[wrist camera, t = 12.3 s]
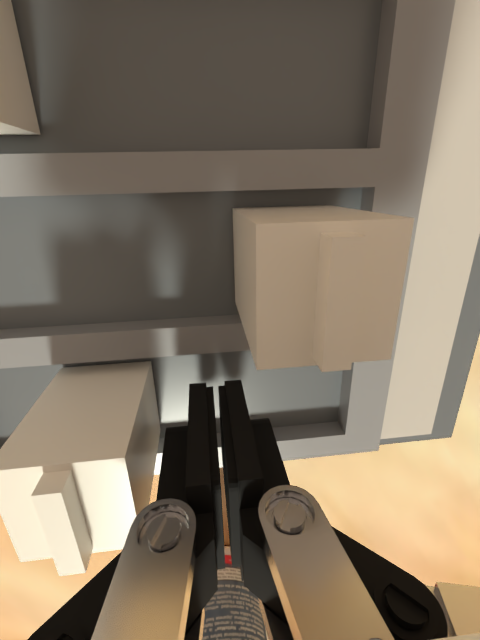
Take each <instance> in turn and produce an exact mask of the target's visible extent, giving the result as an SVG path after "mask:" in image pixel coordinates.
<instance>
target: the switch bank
mask: <svg viewBox="0 0 480 640" xmlns="http://www.w3.org/2000/svg"><path fill="white" fill-rule="evenodd" d="M11 2H12V6H13V11H14V16H15V20H16V25H17V29H18V34H19V38H20V43H21V48H22V52H23V57H24V61H25V66H26V71H27V75H28V80H29V84H30V89H31V93H32V98H33V103H34V107H35V112H36V116H37V121H38V125H39V130H40V135H0V449H1V447H2V446H3V445H4V443H5V442H6V441H7V439H8V438H9V437H10V435H11V434H12V433H13V431H14V430H15V429H16V427H17V426H18V425H19V423H20V422H21V421H22V420H23V418H24V417H25V416H26V414H27V413H28V412H29V410H30V409H31V408H32V406H33V405H34V404H35V402H36V401H37V400H38V398H39V397H40V396H41V394H42V393H43V392H44V390H45V389H46V388H47V386H48V385H49V384H50V382H51V381H52V380H53V378H54V377H55V376H56V374H57V373H58V372H59V370H60V369H61V368H65V367H78V366H91V365H105V364H118V363H132V362H145V361H151V365H152V372H153V379H154V386H155V393H156V401H157V408H158V415H159V422H160V429H161V430H160V437H159V443H158V450H157V456H156V462H155V469H154V475H155V474H160V469H161V462H162V454H163V446H164V438H165V431H166V428H168V427H178V426H188V406H189V384H194V383H206V387H212V386H213V393H214V405H215V418H216V431H217V444H218V456H219V468H220V467H223V463H222V448H221V429H220V411H219V392H218V386H224V381H230V380H241V382H242V386H243V390H244V395H245V399H246V404H247V408H248V413H249V417H250V420H252V419H263V418H269V420H270V422H271V425H272V429H273V432H274V435H275V438H276V442H277V445H278V448H279V451H280V454H281V458H282V461H286V460H295V459H304V458H314V457H323V456H332V455H342V454H351V453H360V452H370V451H378V450H379V445H382V444H392V443H401V442H411V441H420V440H430V439H439V438H449V437H451V436H452V433H453V429H454V425H455V422H456V418H457V414H458V411H459V407H460V403H461V400H462V396H463V392H464V389H465V385H466V381H467V378H468V374H469V370H470V367H471V363H472V359H473V356H474V352H475V348H476V344H477V341H478V337H479V333H480V0H11ZM315 205H331V206H338V207H344V208H351V209H357V210H364V211H370V212H377V213H384V214H390V215H397V216H403V217H410V218H414V224H413V230H412V236H411V242H410V248H409V254H408V260H407V266H406V272H405V278H404V284H403V290H402V296H401V302H400V308H399V314H398V320H397V326H396V332H395V338H394V344H393V350H392V356H391V360H378V361H366V362H353V363H352V366H351V370H341V371H329V372H321V370H320V369H319V367H318V366H317V365H315V366H303V367H290V368H278V369H265V370H256V366H255V363H254V360H253V357H252V354H251V350H250V347H249V344H248V341H247V338H246V334H245V331H244V328H243V325H242V322H241V319H240V315H239V312H238V309H237V306H236V303H235V276H234V243H233V209H232V208H252V207H284V206H315Z"/></svg>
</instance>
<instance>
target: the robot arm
mask: <svg viewBox="0 0 480 640" xmlns="http://www.w3.org/2000/svg"><path fill="white" fill-rule="evenodd" d="M218 392H219V411H220V429H221V448H222V463H223V474H224V485H225V495H226V506H227V517H228V528H229V539H230V550H231V561H232V568H233V567H240V571H241V580H242V581H244V586H245V587H246V588H247V589H248V590H250V591H251V592H252V593H253V594H254V595H255V596H257V597H258V600H259V607H260V611H261V614H262V618H263V621H264V625H265V628H266V632H267V636H268V639H269V640H480V587H476V586H468V585H459V584H451V583H442V582H436V584H435V587H432V586H425V585H424V584H423V583H422V582H420V581H419V580H418V579H416V578H415V577H414V576H412V575H411V574H409V573H407V572H406V571H404V570H402V569H401V568H399V567H397V566H396V565H394V564H392V563H391V562H389V561H388V560H386V559H384V558H383V557H381V556H379V555H378V554H376V553H374V552H373V551H371V550H370V549H368V548H366V547H365V546H363V545H361V544H360V543H358V542H356V541H355V540H353V539H352V538H350V537H348V536H347V535H345V534H343V533H342V532H340V531H338V530H337V529H335V528H334V527H332V526H331V525H330V523H329V521H328V520H327V518H326V516H325V514H324V512H323V511H322V509H321V507H320V505H319V503H318V502H317V501H316V500H315V498H314V497H313V496H312V495H311V494H310V493H308V492H307V491H306V490H304V489H302V488H299V487H297V486H292V485H290V484H289V480H288V477H287V474H286V471H285V467H284V464H283V461H282V458H281V454H280V451H279V448H278V445H277V442H276V438H275V435H274V432H273V429H272V425H271V422H270V420H269V418H263V419H252V420H250V417H249V413H248V408H247V404H246V399H245V395H244V390H243V386H242V382H241V380H230V381H224V386H218ZM219 569H225V552H224V534H223V517H222V499H221V483H220V469H219V456H218V444H217V431H216V418H215V405H214V393H213V386H212V387H206V383H194V384H189V406H188V426H178V427H168V428H166V431H165V438H164V446H163V454H162V462H161V469H160V477H159V485H158V493H157V500H156V502H153V503H151V504H149V505H148V506H147V507H145V508H144V509H142V511H141V512H140V513H139V514H138V515H137V516H136V517H135V519H134V521H133V523H132V525H131V527H130V530H129V533H128V536H127V539H126V541H125V544H124V547H123V550H122V552H121V553H120V554H119V555H117V556H116V557H115V558H114V559H113V560H112V561H111V562H110V563H109V564H108V565H107V566H106V567H105V568H103V569H102V570H101V571H100V572H99V573H98V574H97V575H96V576H95V577H94V578H93V579H92V580H90V581H89V582H88V583H87V584H86V585H85V586H84V587H83V588H82V589H81V590H80V591H79V592H78V593H76V594H75V595H74V596H73V597H72V598H71V599H70V600H69V601H68V602H67V603H66V604H65V605H63V606H62V607H61V608H60V609H59V610H58V611H57V612H56V613H55V614H54V615H53V616H52V617H51V618H49V619H48V620H47V621H46V622H45V623H44V624H43V625H42V626H41V627H40V628H39V629H38V630H36V631H35V632H34V633H33V634H32V635H31V636H30V638H29V639H28V640H202V637H203V627H204V618H205V606H206V605H207V603H208V602H209V601H210V599H211V598H212V597H213V595H214V594H215V593H216V591H217V590H218V586H217V585H218V576H217V570H219Z"/></svg>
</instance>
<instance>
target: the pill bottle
mask: <svg viewBox="0 0 480 640" xmlns="http://www.w3.org/2000/svg"><path fill="white" fill-rule="evenodd" d="M224 552H225V569H219V570H217V576H218V585H217V586H218V590H217V591H216V593H215V594H214V595H213V597H212V598H211V599H210V601H209V602H208V603H207V605H206V606H205V618H204V627H203V637H202V640H269V639H268V636H267V632H266V628H265V625H264V621H263V618H262V614H261V611H260V607H259V600H258V597H257V596H255V595H254V594H253V593H252V592H251V591H250V590H248V589H247V588H246V587H245V586H244V581H242V580H241V571H240V567H233V568H232V561H231V550H230V547H229V546H224Z"/></svg>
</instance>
